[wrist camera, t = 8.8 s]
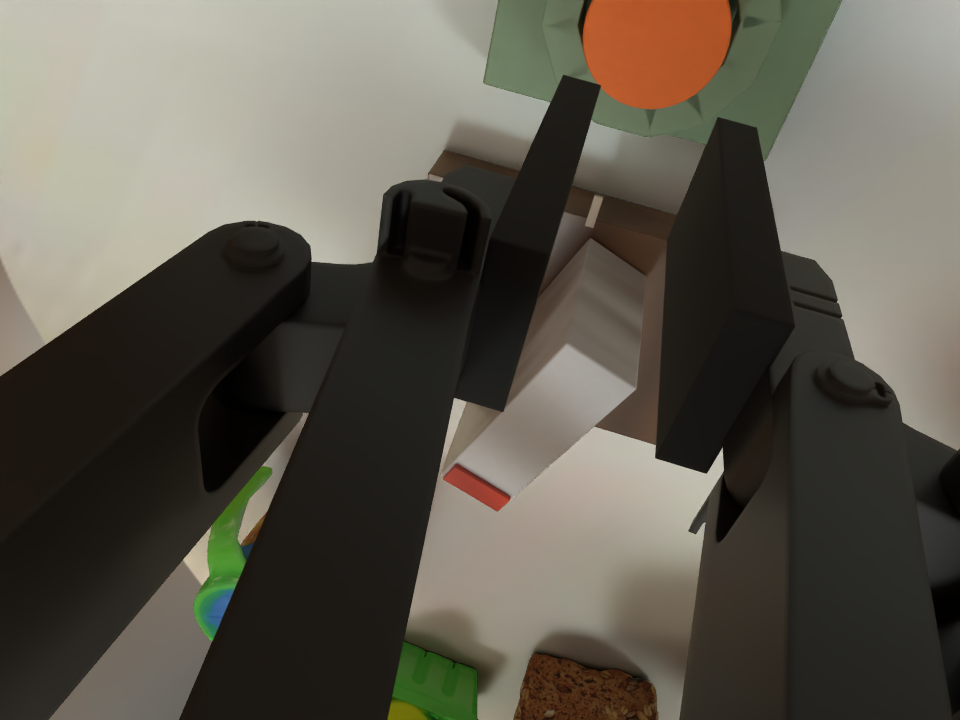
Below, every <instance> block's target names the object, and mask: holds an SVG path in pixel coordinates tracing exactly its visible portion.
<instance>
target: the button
mask: <svg viewBox="0 0 960 720" xmlns="http://www.w3.org/2000/svg"><path fill="white" fill-rule="evenodd" d="M731 28H732V22H731V12H730V6H729V0H592V2H591V4H590V6H589V9H588V12H587V15H586V18H585V23H584V28H583V50H584V55H585V59H586V63H587V66H588V68H589V70H590V72H591V74H592V76H593V78H594V79H595V81H596V82H597V83H598V84H599V85H601V88H602V89H603V90H604V91H605V92H606V93H607V94H608V95H610V96H611V97H612V98H614V99H615V100H617V101H619V102H621V103H623V104H626V105H629V106H631V107H636V108H641V109H660V108H665V107H670V106H673V105H676V104H679V103H681V102H683V101H685V100H687V99H689V98H690V97H692V96H694V95H695V94H696V93H698V92H699V91H700V90H701V89H703V88H704V87H705V86H706V85H707V84H708V83H709V82H710V80H711V79H712V78H713V77H714V75H715V74H716V73H717V71H718V70H719V68H720V66H721V65H722V63H723V60H724V58H725V56H726V53H727V50H728V47H729V43H730V38H731Z"/></svg>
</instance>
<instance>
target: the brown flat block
mask: <svg viewBox="0 0 960 720" xmlns="http://www.w3.org/2000/svg"><path fill="white" fill-rule="evenodd" d="M464 165H470V166H473V167H477V168H480V169H484V170H487V171H491V172H494V173H498V174H502V175H505V176H509V177H512V178H516V179H517V176H518V174H519V172H520V171H517V170H513V169H510V168H506V167H503V166H499V165H495V164H492V163H488V162H485V161H481V160H478V159H474V158H471V157H467V156H463V155H460V154H456V153H453V152H449V151H446V150H444V151H443V153H442V154H441V155H440V157H439V158H438V160H437V161H436V163H435V164H434V166H433V167H432V169H431V170H430V172H429V173H428V179H427V180H432V181H440V182H441V181H442V180H443V178H444V176H445V175H446V174H447V173H449V172H451V171H453V170H456V169H458V168H460V167H462V166H464ZM676 217H677V215H673V214H670V213H666V212H662V211H659V210H655V209H652V208H648V207H645V206H641V205H638V204H634V203H630V202H627V201H623V200H620V199H616V198H613V197H609V196H606V195H602V194H599V193H595V192H591V191H588V190H584V189H581V188H577V187H574V186H571V190H570V193H569V197H568V200H567V203H566V207H565V210H564V213H563V217H562V220H561V223H560V227H559V230H558V233H557V237H556V240H555V243H554V247H553V250H552V253H551V256H550V260H549V263H548V266H547V270H546V273H545V276H544V280H543V283H542V286H541V290H540V293H539V296H540V295H541V294H542V293H543V292H544V291H545V289H546V288H547V287H548V286H549V285H550V284H551V283H552V281H553V280H554V279H555V278H556V277H557V276H558V274H559V273H560V272H561V271H562V270H563V269H564V267H565V266H566V265H567V264H568V263H569V262H570V261H571V259H572V258H573V257H574V256H575V255H576V254H577V252H578V251H579V250H580V249H581V248H582V247H583V245H584V244H585V243H586V242H587V241H588V240H589V239H590V238H591V239H593V240H594V241H596V242H597V243H599V244H600V245H602V246H603V247H604V248H606V249H607V250H609V251H610V252H612V253H613V254H615V255H616V256H617V257H619V258H620V259H622V260H623V261H625V262H626V263H628V264H629V265H630V266H632V267H633V268H635V269H636V270H638V271H639V272H640V273H642V274H643V275H645V276H646V289H645V300H644V311H643V322H642V332H641V343H640V354H639V365H638V376H637V387H636V390H635V391H634V392H632V393H631V394H630V395H629V396H628V397H627V398H626V399H625V400H623V401H622V402H621V403H620V404H619V405H618V406H617V407H615V408H614V409H613V410H612V411H611V412H610V413H609V414H608V415H606V416H605V417H604V418H603V419H602V420H601V421H600V422H598V423H597V424H596V425H595V426H594V427H598V428H601V429H604V430H608V431H611V432H614V433H618V434H621V435H624V436H628V437H631V438H634V439H638V440H641V441H644V442H648V443H651V444H654V445H656V435H657V416H658V398H659V380H660V361H661V343H662V324H663V306H664V287H665V269H666V251H667V239H668V236H669V234H670V231H671V229H672V227H673V224H674V222H675V219H676ZM539 296H538V298H539Z"/></svg>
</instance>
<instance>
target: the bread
mask: <svg viewBox="0 0 960 720" xmlns="http://www.w3.org/2000/svg"><path fill="white" fill-rule="evenodd" d="M513 720H658V712H657V695H656V689H655V687H654V686H653V684H651V683H650V682H648V681H647V680H645V679H641V678H637V679H633V678H632V676H630V675H628V674H626V673H624V672H622V671H620V670H613V669H609V670H605V671H601V672H600V671H598V670H595V669H588V668H585V667H583V666H581V665H579V664H577V663H575V662H573V661H570V660H568V659H566V658H565V659H556V658H554V657H551V656H549V655H546V654H543V655H539V654H537V653H535V654H534V655H532V657H531V658H530V660H529V663H528V667H527V670H526V674H525V677H524V680H523V683H522V686H521V689H520V700H519V703H518V706H517V709H516V711H515V715H514V719H513Z"/></svg>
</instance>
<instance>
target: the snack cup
mask: <svg viewBox="0 0 960 720" xmlns="http://www.w3.org/2000/svg"><path fill="white" fill-rule="evenodd" d="M271 474H272V469H271V468H269V467H264V466H263V467H260V468H259V470H258V471H257V472H256V473H255V474H254V476H253V477H252V478H251V479H250V480H249V482H248V483H247V484H246V485H245V486H244V488H243V489H242V490H241V491H240V492H239V493H238V495H237V496H236V497H235V498H234V499H233V501H232V502H231V503H230V504H229V505H228V507H227V508H226V509H225V510H224V511H223V513H222V514H221V515H220V516H219V517H218V518H217V520H216V521H215V522H214V523H213V524H212V528H211V533H210V537H209V541H208V566H209V572H210V576H209V577H208V578H207V580H206V581H205V583H204V584H203V585H202V587H201V588H200V590H199V592H198V594H197V596H196V598H195V601H194V614H195V617H196V620H197V622H198V624H199V626H200V627H201V629H202V631H203V632H204V633H205V635H206V636H207V637H208V638H209V639H210V640H211V641H213V639H214V636H215V634H216V632H217V629H218V627H219V624H220V622H221V620H222V617H223V615H224V613H225V610H226V608H227V606H228V603H229V601H230V598H231V596H232V594H233V591H234V589H235V587H236V584H237V582H238V580H239V577H240V575H241V573H242V570H243V568H244V565H245V563H246V561H247V558H248V556H249V554H250V551H251V549H252V547H253V544H254V542H255V540H256V537H257V535H258V532H259V530H260V528H261V525H262V523H263V521H264V518H265V516H266V514H267V512H266V514H265V515H264V516H263V517H262V518H261V519H260V521H259V522H258V523H257V524H256V525H255V527H254V528H253V529H252V531H251V532H250V533H249V534H248V536H247V537H246V538H245V539H244V541H243V542H242V543H241V545H240V544H239V542H238V533H239V529H240V527H241V522H242V519H243V515H244V513H245V509H246V506H247V503H248V501H249V498H250V497H251V496H252V495H253V494H254V493H255V492H256V491H257V490H258V489H259V488H260V487H261V486H262V485H263V484H264V483H265V482H266V481H267V479H268V478H269V477H270V476H271Z"/></svg>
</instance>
